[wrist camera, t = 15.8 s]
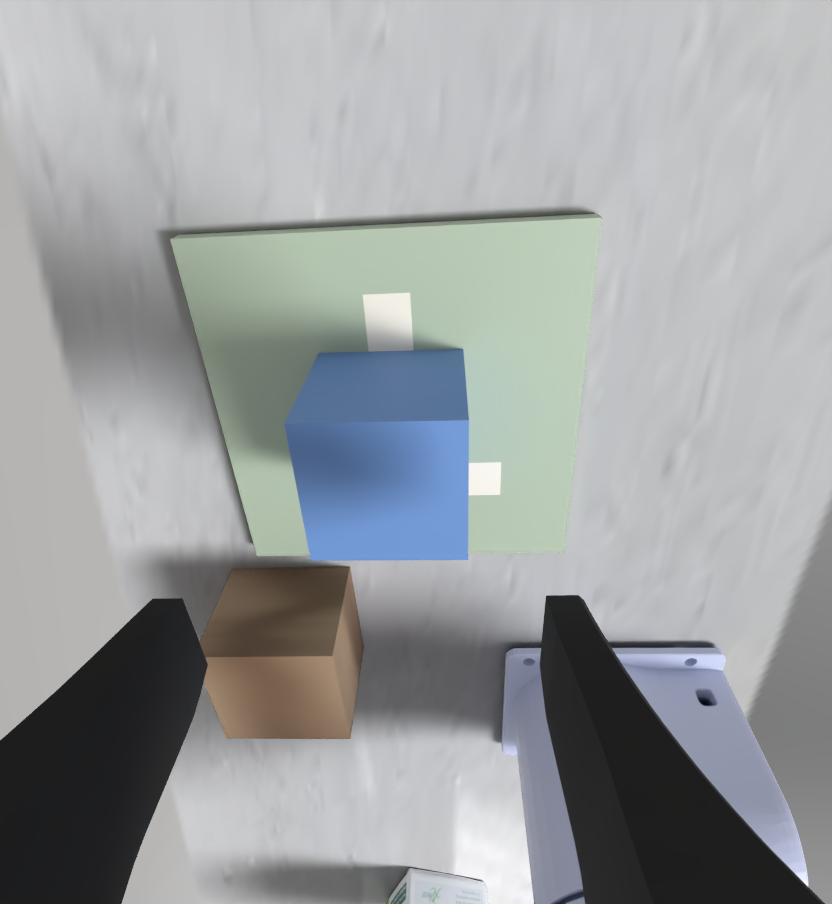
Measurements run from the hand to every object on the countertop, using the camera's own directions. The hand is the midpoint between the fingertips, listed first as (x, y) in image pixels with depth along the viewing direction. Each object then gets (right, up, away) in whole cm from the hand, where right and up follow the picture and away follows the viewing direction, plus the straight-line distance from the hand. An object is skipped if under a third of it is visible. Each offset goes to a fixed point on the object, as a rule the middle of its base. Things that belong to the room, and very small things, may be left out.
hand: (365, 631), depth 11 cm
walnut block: (-4, -3, +14) cm, 15 cm away
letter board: (0, +5, +8) cm, 9 cm away
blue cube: (0, +5, +7) cm, 9 cm away
